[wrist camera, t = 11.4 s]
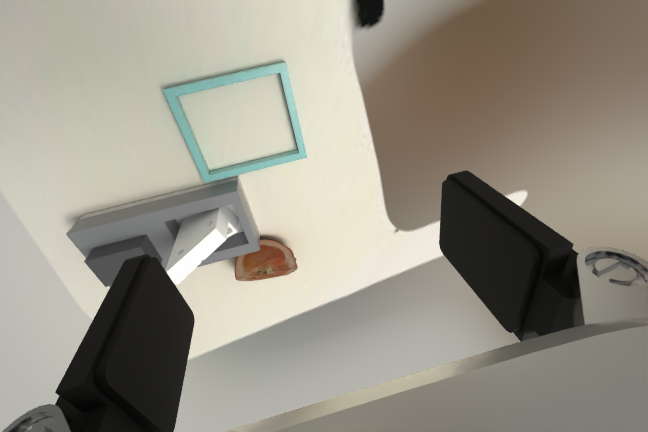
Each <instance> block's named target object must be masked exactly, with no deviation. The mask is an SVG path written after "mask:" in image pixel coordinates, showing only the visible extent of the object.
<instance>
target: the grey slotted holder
mask: <svg viewBox="0 0 648 432" xmlns="http://www.w3.org/2000/svg"><path fill="white" fill-rule="evenodd" d="M224 206H228V207H229V208H230V209H231V210H232V211H233V212H234V214H235V215H236V216H237V217H238V218H239V219H238V232H237V233H235V234H233V235H232V236H230V237H228V238H227V239H226V240H225V241H224V242H223V243H222V244H221V245H220V246H219V247H218V248H217V249H216V250H215V251H214V252H212V253H211V254H210V255H209V256H208V257H207V258H206V259H205V260H202V262H201V263H200V264H199V265H198V266H197V267H199V266H203V265H207V264H211V263H214V262H218V261H222V260H226V259H229V258H233V257H237V256H241V255H244V254H248V253H252V252H256V251H259V250H260V233H259V230H258V227H257V225H256V222H255V219H254V217H253V214H252V211H251V209H250V206H249V203H248V201H247V198H246V195H245V193H244V190H243V187H242V185H241V182H240V179H239V177H238V176H237V177H233V178H229V179H225V180H221V181H217V182H213V183H209V184H205V185H201V186H197V187H193V188H189V189H185V190H181V191H177V192H173V193H169V194H165V195H161V196H157V197H153V198H149V199H145V200H141V201H137V202H133V203H129V204H125V205H121V206H117V207H113V208H109V209H105V210H101V211H97V212H93V213H89V214H85V215H82V216H81V218H80V219H79V220H78V221H77V222H76V223H75V225H74V226H73V227H72V228H71V229H70V230H69V232H68V233H67V234H66V235H67V236H68V237H69V238H70V239H71V241H72V242H73V243H74V244H75V245H76V247H77V248H78V249H79V250H80V251H81V253H82V254H83V255H84V256H85V258H86V260H85V261H84V262H85V263H86V264H87V265H88V267H89V268H90V269H91V270H92V271H93V273H94V274H95V275H96V276H97V277H98V278H99V280H100V281H101V282H102V283H103V284H104V286H105V287H107V286H110V287H111V285H112V283H113V282H114V280H115V278H116V276H117V274H118V272H119V270H120V268H121V266H122V264H123V263H124V261H125V260H126V259H129V258H133V257H137V256H141V255H144V254H148V255H149V256H151V257H156V258H157V259H158V260H159V262H160V263H161V265H162V266H163V268H164V269H165V270H166V267H167V264H168V261H169V258H170V255H171V252H172V249H173V246H174V243H175V241H176V238H177V235H178V232H179V229H180V226H181V223H182V220H183V219H185V218H187V217H188V216H190V215H193V214H197V213H201V212H204V211H208V210H212V209H216V208H220V207H224Z"/></svg>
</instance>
